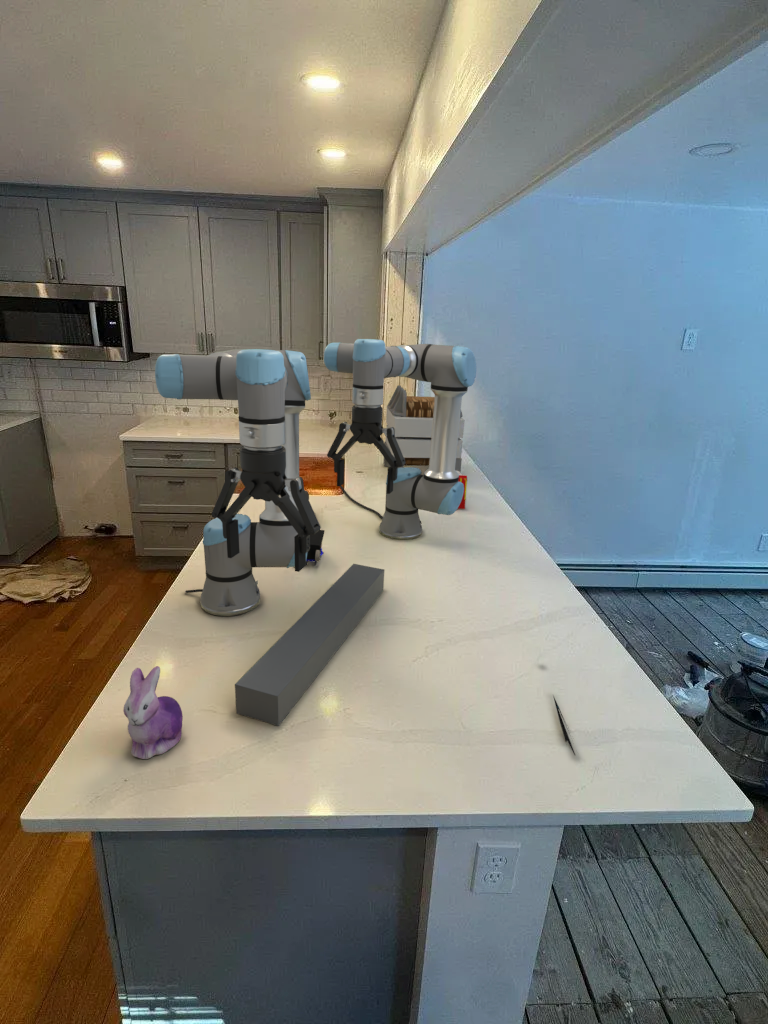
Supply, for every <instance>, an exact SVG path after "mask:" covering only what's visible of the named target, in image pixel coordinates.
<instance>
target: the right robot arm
mask: <svg viewBox="0 0 768 1024" xmlns="http://www.w3.org/2000/svg"><path fill="white" fill-rule="evenodd" d="M323 362H324V367H326V369H327V370H328V371H330V372H336V373H343V374H352V391H351V392H352V393H351V395H352V396H351V397H352V398H351V403H352V404H353V405H352V406H351V423H348V421H342V422H340V423H339V426H338V432H337V434H336V436H335V438H334V439H333V442H332V444H331V445H330V448H329V449H328V451H327V453H326V457H328V459H329V458H330V459H332V460H333V472H334V473H335V474H336V487H338V488H340V489H341V491H342V492H343V493H344V495H345V496H346V497H347V498H348V499H349V500H350V501H351V502H352V503H354V504H356V505H357V506H359V507H361V508H363V509H365V510H367V511H369V512H372V513H374V514H376V515H377V516H378V517H379V518H380V519H381V522H379V526H378V533H379V534H380V535H381V536H382V537H385V538H387V539H389V540H395V541H410V540H415V539H418V538H420V537H421V536H422V535H423V525H422V520H421V518H420V515H419V510H421V511H426V512H429V513H435V514H438V515H445V516H451V515H453V514H454V513H456V511H457V510H459V509H458V507H459V505H460V503H461V500H462V497H463V493H464V485H463V483H461V482H458V480H459V474H458V473H457V472H456V471H455V463H456V453H457V443H458V433H459V422H460V412H462V403H463V402H462V401H463V396H464V395H466V394H467V393H468V389H469V388H470V387H472V386H473V385H474V383H475V382H476V381H475V380H476V377H477V362H476V356H475V354H474V352H473V350H472V349H471V348H469V347H466V346H461V345H449V344H447V345H446V344H432V343H418V344H400V345H390V346H386V343H385V341H384V340H383V339H376V338H357V339H356V340H355V341H354V343H349V342H339V341H338V342H330V343H328V344H327V345H326V347H325V349H324V352H323ZM397 377H399V378H407V379H411V380H415V381H420V382H426V383H430V390H431V392H432V393H433V394H434V397H435V400H434V412H433V424H432V436H431V448H430V460H429V465H428V468H427V469H426V470H424V471H423V474H422V470H421V468H419V467H414V466H411V467H409V466H406V465H405V463H406V462H405V460H404V457H403V455H402V452H401V450H400V447H399V445H398V442H397V440H396V438H395V430H394V427H390V428H386V427H383V412H384V411H383V407H382V405H383V404H384V386H385V384H384V382H385V379H389V378H397ZM349 430H350V432H351V433H352V435H351V437H350V438H349V439H348V440H347V442H346V443H345V444H344V445H343V446H342V448H340V450H339V451H338V449H339V447H340V445H341V443H342V442H343V440H344V438H345V436H346V434H347V432H349ZM383 434H384V436H385V438H386V437H387V439H388V442H389V444H390V447H391V449H392V452H393V454H394V456H393V455H392V454H391V452H390V451H389V449H388V448H387V446H386V445H385V444H384V442H385V440H383V438H382V435H383ZM357 442H358V443H359V444H366V445H372V444H373V445H374V447H376V448H377V450H378V451H379V453H380V454H381V456H382V457H383V459H384V458H385V459H386V461H387V462H388V464H389V465H390V466H391V467H388V468H387V475H386V480H385V504H384V505H385V507H384V508H385V509H384V513H383V515H382V514H381V513H380V512H378V511H377V510H375V509H374V508H370V507H368V506H366V505H364V504H362V503H360V502H358V501H357V500H355V499H353V498H352V497H351V496H350V495H349V494H348V492H347V491H346V490H345V489H344V487H343V486H342V485H344V483H345V459H343V457H344V456H345V455H346V453H347V452H348V451H349V450H350V449H351V448H352V447H353V446H354V445H355V444H356V443H357ZM337 451H338V452H337ZM394 457H395V458H394ZM403 465H404V468H398V467H402V466H403ZM405 466H406V467H405Z"/></svg>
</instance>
